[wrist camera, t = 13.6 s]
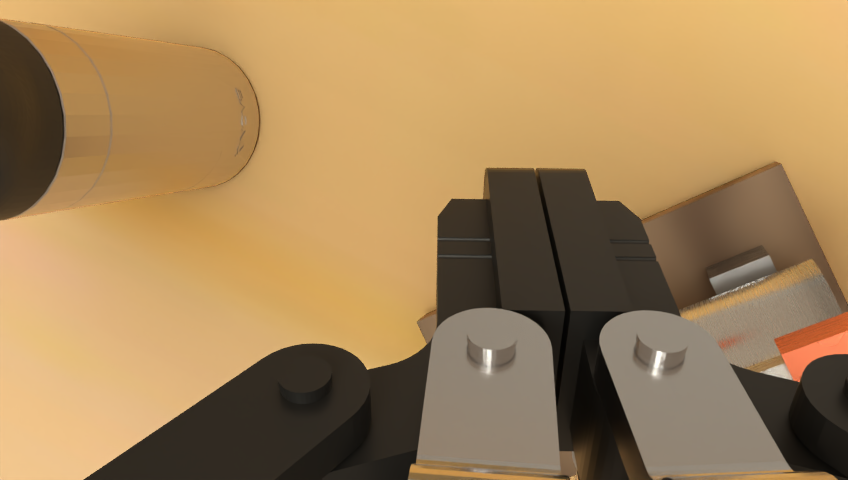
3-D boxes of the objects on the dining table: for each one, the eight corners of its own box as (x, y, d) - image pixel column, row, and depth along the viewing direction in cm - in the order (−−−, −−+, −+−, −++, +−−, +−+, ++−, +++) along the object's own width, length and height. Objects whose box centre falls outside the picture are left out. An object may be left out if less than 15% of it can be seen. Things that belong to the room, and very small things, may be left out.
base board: (775, 161, 41) (781, 163, 39) (870, 362, 41) (880, 374, 40) (426, 314, 49) (416, 321, 47) (508, 484, 49) (501, 499, 47)
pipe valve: (786, 224, 40) (836, 269, 28) (835, 329, 40) (906, 416, 28) (452, 360, 46) (382, 442, 35) (495, 450, 46) (439, 560, 35)
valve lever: (563, 411, 32) (557, 430, 30) (972, 259, 27) (996, 270, 25) (597, 480, 32) (593, 503, 30) (1012, 342, 27) (1039, 359, 25)
